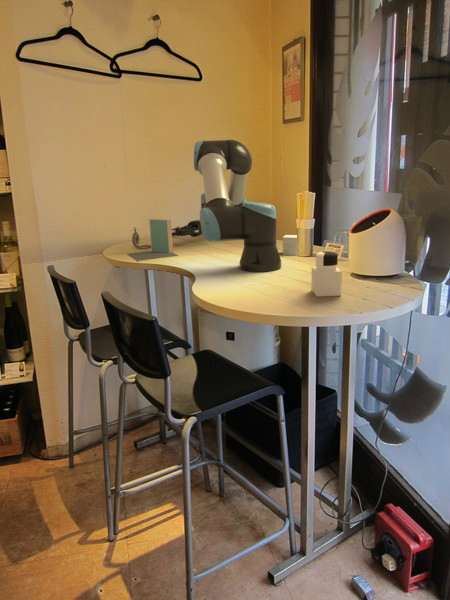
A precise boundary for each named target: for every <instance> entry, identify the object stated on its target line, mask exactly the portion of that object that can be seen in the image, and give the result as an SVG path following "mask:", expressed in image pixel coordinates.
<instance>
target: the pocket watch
mask: <svg viewBox="0 0 450 600" xmlns="http://www.w3.org/2000/svg"><path fill="white" fill-rule="evenodd" d="M133 231H134V232H133V233H132V236H131V237H132V239H131V242H132V245H133V246H134V247H136V249H137V250H147V249H150V248H151V249H152V245H149V244H148V245H147V244H145V245H144V244H143V245H140V234H139V233H138V232H137V228H136V227H135V226H134V227H133Z"/></svg>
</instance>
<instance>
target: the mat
mask: <svg viewBox="0 0 450 600" xmlns="http://www.w3.org/2000/svg"><path fill="white" fill-rule="evenodd" d="M126 255H127V256H128V257H130V258H131V259H133V260H135V261H136V262H137V263H139V262H140V261H149V260H156V259H165V258H172V257H180V255H179V254H177V253H174V252H171V253H163V252H153V251H152V250H149V251H139V252H138V251H137V252H132V253H131V252H130V253H129V252H128V253H126Z"/></svg>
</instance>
